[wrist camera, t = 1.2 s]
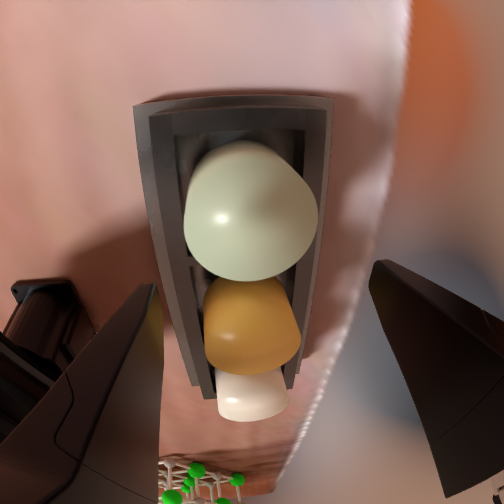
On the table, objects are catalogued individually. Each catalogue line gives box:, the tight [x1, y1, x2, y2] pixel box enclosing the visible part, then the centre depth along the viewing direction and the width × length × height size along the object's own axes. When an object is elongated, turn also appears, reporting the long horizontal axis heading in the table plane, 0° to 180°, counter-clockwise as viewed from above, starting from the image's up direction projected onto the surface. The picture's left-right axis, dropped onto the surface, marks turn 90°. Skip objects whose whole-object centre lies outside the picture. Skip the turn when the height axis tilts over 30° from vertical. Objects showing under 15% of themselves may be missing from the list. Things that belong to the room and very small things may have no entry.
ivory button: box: [215, 367, 289, 422], centre depth 20 cm, size 5×5×4 cm
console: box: [133, 94, 334, 399], centre depth 19 cm, size 10×23×3 cm, turn 1°
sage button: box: [184, 140, 318, 281], centre depth 12 cm, size 5×5×4 cm
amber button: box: [203, 276, 301, 375], centre depth 16 cm, size 5×5×4 cm
